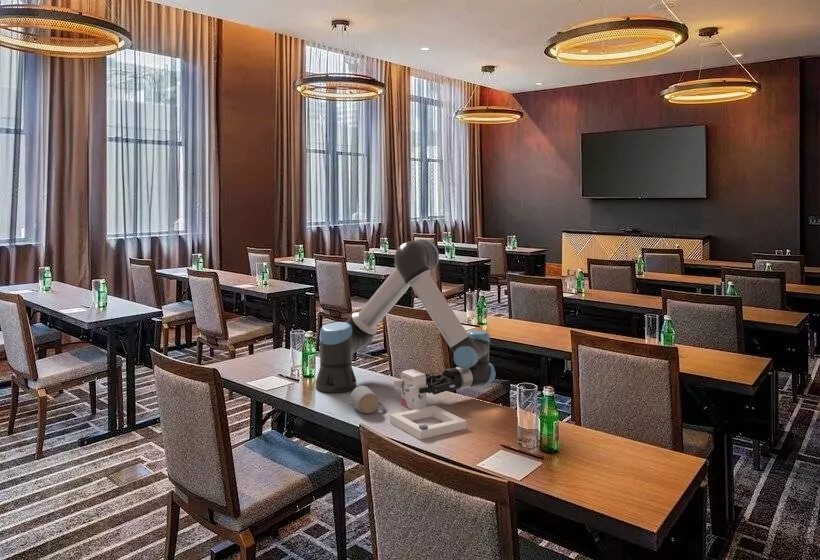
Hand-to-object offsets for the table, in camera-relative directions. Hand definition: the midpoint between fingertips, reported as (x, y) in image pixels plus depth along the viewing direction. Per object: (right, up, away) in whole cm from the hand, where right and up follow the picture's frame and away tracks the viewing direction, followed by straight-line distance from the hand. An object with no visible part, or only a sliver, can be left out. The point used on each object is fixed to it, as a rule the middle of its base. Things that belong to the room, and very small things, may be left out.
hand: (402, 388), depth 205 cm
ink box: (+4, -7, +3) cm, 9 cm away
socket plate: (+8, -9, -14) cm, 19 cm away
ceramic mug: (-11, -8, 0) cm, 13 cm away
